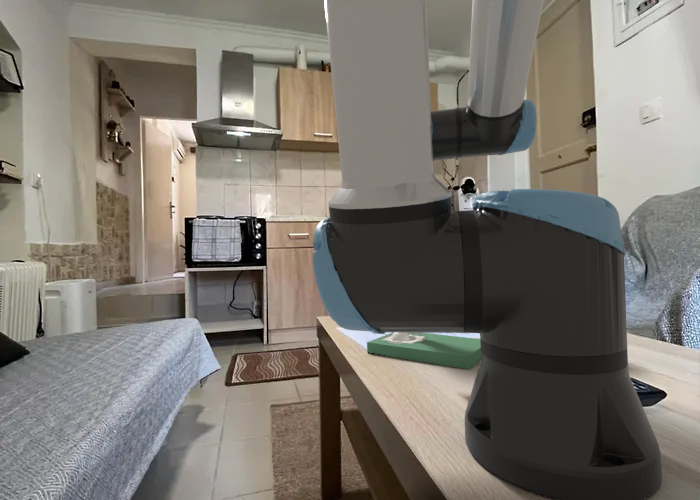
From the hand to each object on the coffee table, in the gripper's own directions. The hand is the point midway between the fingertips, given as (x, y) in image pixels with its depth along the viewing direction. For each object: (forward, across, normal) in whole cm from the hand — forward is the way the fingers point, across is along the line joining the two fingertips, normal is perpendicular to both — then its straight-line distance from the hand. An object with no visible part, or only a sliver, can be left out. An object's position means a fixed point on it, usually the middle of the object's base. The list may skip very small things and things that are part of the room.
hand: (419, 332), depth 68 cm
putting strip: (+4, -2, 0) cm, 4 cm away
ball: (+2, +4, 0) cm, 4 cm away
